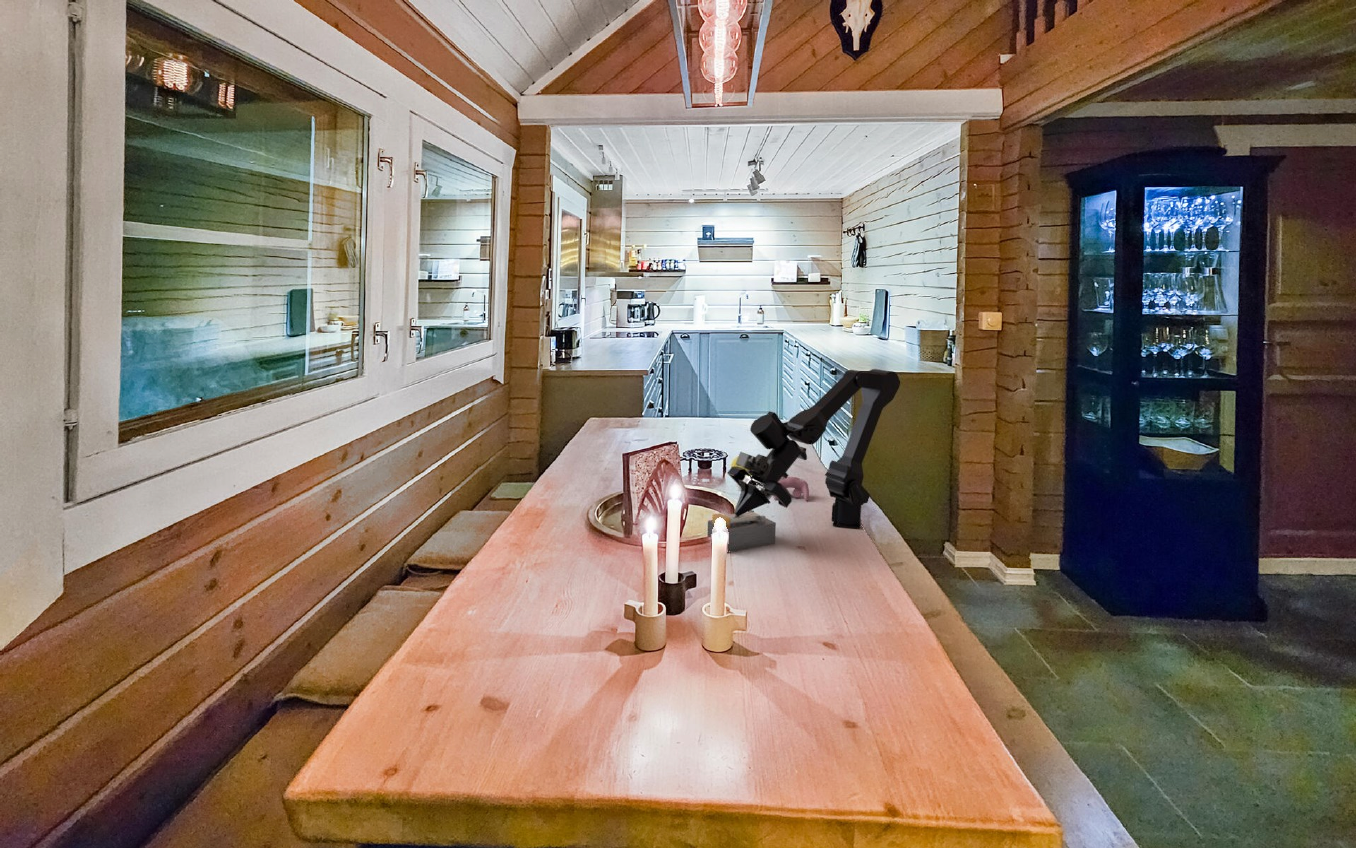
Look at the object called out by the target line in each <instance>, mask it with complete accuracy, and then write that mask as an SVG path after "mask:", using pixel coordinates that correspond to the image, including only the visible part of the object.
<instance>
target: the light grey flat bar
mask: <svg viewBox="0 0 1356 848" xmlns="http://www.w3.org/2000/svg"><path fill="white" fill-rule="evenodd" d="M723 515H724V516H726V517H728V518H730V523H736V522H746V521H755V520H759V517H760V516H762V515H760V514H758V513H757V512H755V511H754V512H749V513H748V512H746V513H744V514H742V515H740V516H736V515H735V514H734V513H732V514H731V513H730V514H723Z"/></svg>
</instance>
